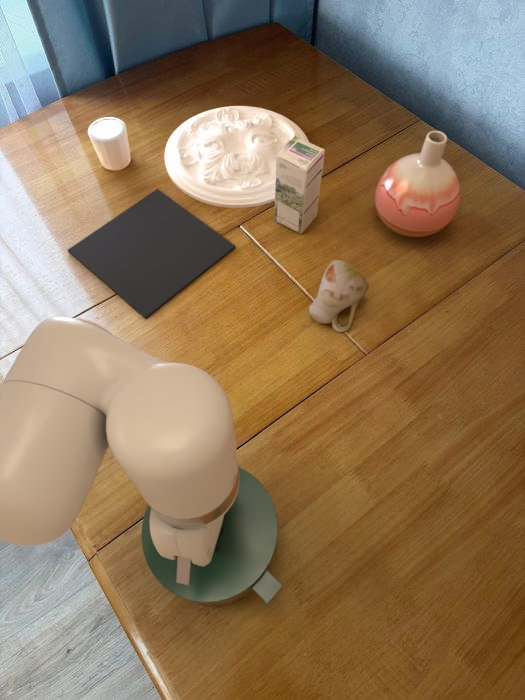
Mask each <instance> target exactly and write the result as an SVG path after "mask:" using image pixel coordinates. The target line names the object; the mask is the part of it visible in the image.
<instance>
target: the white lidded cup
mask: <svg viewBox="0 0 525 700" xmlns="http://www.w3.org/2000/svg"><path fill="white" fill-rule="evenodd" d="M87 134H88V138H89V139H90V141H91V143H92V146H93V148H94V150H95V152H96V155H97V157H98V160H99V162H100V164H101V166H102V167H103V168H104V169H106V170H107V171H120V170H123V169H125V168H127V167H128V166H129V165H130V163H131V160H132V159H131V150H130V144H129V136H128V130H127V124H126V123H125V122H124V121H123V120H122V119H121V118H118V117H114V116H113V117H112V116H108V117H107V116H105V117H101V118H98V119H96V120H94V121H93V122H91V123H90V125H89V126H88V129H87Z"/></svg>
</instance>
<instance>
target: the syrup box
mask: <svg viewBox="0 0 525 700" xmlns="http://www.w3.org/2000/svg"><path fill="white" fill-rule="evenodd" d="M325 152H326V149H324V148H322V147H320V146H318V145H316V144H313V143H311V142H310V141H309V142H307V141H304V140H302V139H300V138H298V137H296V136H295V137H293V138H292V139H291V140H290V141H289V142H288V143H287V144H286V145H285V146H284V147H283V148H282V149H281V150H280V151H279V153H278V154H277V155H276V183H275V201H274V222H275V223H277V224H280V225H281V226H283V227H286V228H287V229H289V230H291V231H293V232H295V233H297V234H299V235H301V234H303V233H304V231H305V230H306V229H307V228H308V227H309V226H310V225H311V223H312V222H313V221H314V220H315V218H316V217H317V216H318V211H319V201H320V200H319V199H320V198H319V197H320V192H321V183H322V176H323V170H324V162H325Z"/></svg>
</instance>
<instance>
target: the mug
mask: <svg viewBox="0 0 525 700" xmlns="http://www.w3.org/2000/svg"><path fill="white" fill-rule="evenodd" d="M369 286H370V283H369V281H368V279H367V277H365V276H364V274H363V273H362V272H361V271H360V270H359V269H358V268H356V267H355V266H353V265H352V264H350V263H348V262H347V261H345V260H341V259H335V260H332V261H331V262H330V263H329V264H328V266H326V268H325V270H324V272H323V274H322V277H321V281H320V284H319V289H318V293H317V295H316V297H315V298H314V300H313V302H312V303H311V304H310V305H309V308H308V309H309V310H308V311H309V315H310V317H311V318H312V319H313V320H314V321H316V322H317V323H319V324H330V323H331V327H332V329H333V330H334V331H335V332H336V333H345V332H347V331H349V330H350V328H351V327H352V324H353V322H354V319H355V314H356V310H357V307H358V306H359V304H360V301H361V299H362V298H363V297H364V296H365V295H366V293H367V291H368V290H369V288H370V287H369ZM349 307H350V310H349V317H348V321H347V324H345V326H340V325H339V324H338V321H337V320H338V317H339V314H340V312H342V311H343V310H345V309H347V308H349Z"/></svg>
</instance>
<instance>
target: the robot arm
mask: <svg viewBox="0 0 525 700" xmlns="http://www.w3.org/2000/svg"><path fill="white" fill-rule="evenodd" d="M231 406H232V405H231V403H230V400H229V397H228V395H227V393H226V392H225V389H224V388H223V387H222V385H221V384H220V383H219V382H218V381H217V380H216V378H214V377H213V376H212V375H211V374H210V373H208V372H206V371H204V370H203V369H201V368H200V367H197V366H194V365H192V364H188V363H182V362H167V361H165V360H163V359H162V358H160V357H158V356H155V355H153V354H151V353H150V352H147V351H145V350H143V349H141V348H138V347H137V346H135V345H133V344H131V343H129V342H128V341H125V340H124V339H122V338H120V337H118V336H116V335H114V334H113V333H112V332H111V331H110V330H108V329H107V328H105V327H104V326H102V325H101V324H99V323H97V322H95V321H92V320H90V319H87V318H83V317H70V316H61V315H60V316H52V317H49V318H46V319H45V320H43V321H41V322H40V323H39V324H38V325H36V327H35V328H33V330H32V331H31V332H30V334H29V335H28V337H27V339H26V340H25V342H24V344H23V346H22V348H21V349H20V351H19V353H18V354H17V356H16V358H15V360H14V362H13V363H12V365H11V367H10V369H9V371H8V372H7V374H6V375H5V377H4V379H3V380H2V383H1V384H0V542H2V543H7V544H10V545H11V544H13V545H18V546H26V547H27V546H41V545H44V544H45V545H46V544H48V543H51V542H54V541H56V540H57V539H59V538H61V537H62V536H63V535H64V534H65V533H67V532H68V531H69V529H70V528H71V527H72V526H73V525H74V523H75V521H76V520H77V518H78V516H79V514H80V513H81V510H82V508H83V506H84V504H85V503H86V499H87V497H88V495H89V493H90V491H91V488H92V486H93V484H94V482H95V479H96V476H97V474H98V472H99V471H100V470H99V469H100V468H101V465H102V462H103V460H104V458H105V455H106V454H107V451H108V449H110V451H111V453H112V456H113V458H114V459H115V460H116V462H117V463H118V465H119V466H120V468H121V469H122V471H123V472H124V473H125V475H126V476H127V478H128V479H129V480H130V482H131V483H132V484H133V486H134V487H135V488H136V490H137V491H138V493H139V494H140V495H141V497H142V498H143V500H144V501H145V502H146V504H147V506H148V505H149V507H150V508H151V513H150V533H151V537H152V541H153V543H154V545H155V548H156V549H157V551H158V553H159V554H160V555H161V556H162V557H165V558H167V559H171V560H175V559H176V556H178V558H177V579H176V583H180V584H184V585H188V586H190V584H191V581H192V578H193V575H194V573H195V570H196V566H203V567H204V566H206V565H207V564H209V563H210V562H211V559H212V556H213V552H214V551H215V552H218V551H219V547H220V546H219V543H218V540H217V539H218V536H219V532H220V529H221V525H222V522H223V518H224V515H227V513H228V512H229V508H230V507H231V506H232V504H233V502H234V500H235V498H236V496H237V493H238V489H239V468H238V467H239V459H238V450H237V443H236V434H235V425H234V423H235V422H234V416H233V410H232V407H231Z"/></svg>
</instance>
